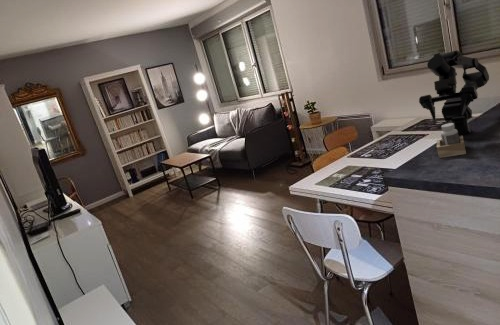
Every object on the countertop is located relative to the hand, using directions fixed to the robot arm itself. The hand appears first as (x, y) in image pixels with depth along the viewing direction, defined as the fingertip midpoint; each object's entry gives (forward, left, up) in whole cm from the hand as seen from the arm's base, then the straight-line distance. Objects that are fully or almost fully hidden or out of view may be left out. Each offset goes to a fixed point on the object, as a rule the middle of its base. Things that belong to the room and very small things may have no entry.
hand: (447, 117), depth 133 cm
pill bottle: (+6, 0, -11) cm, 13 cm away
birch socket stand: (+7, -1, -11) cm, 13 cm away
